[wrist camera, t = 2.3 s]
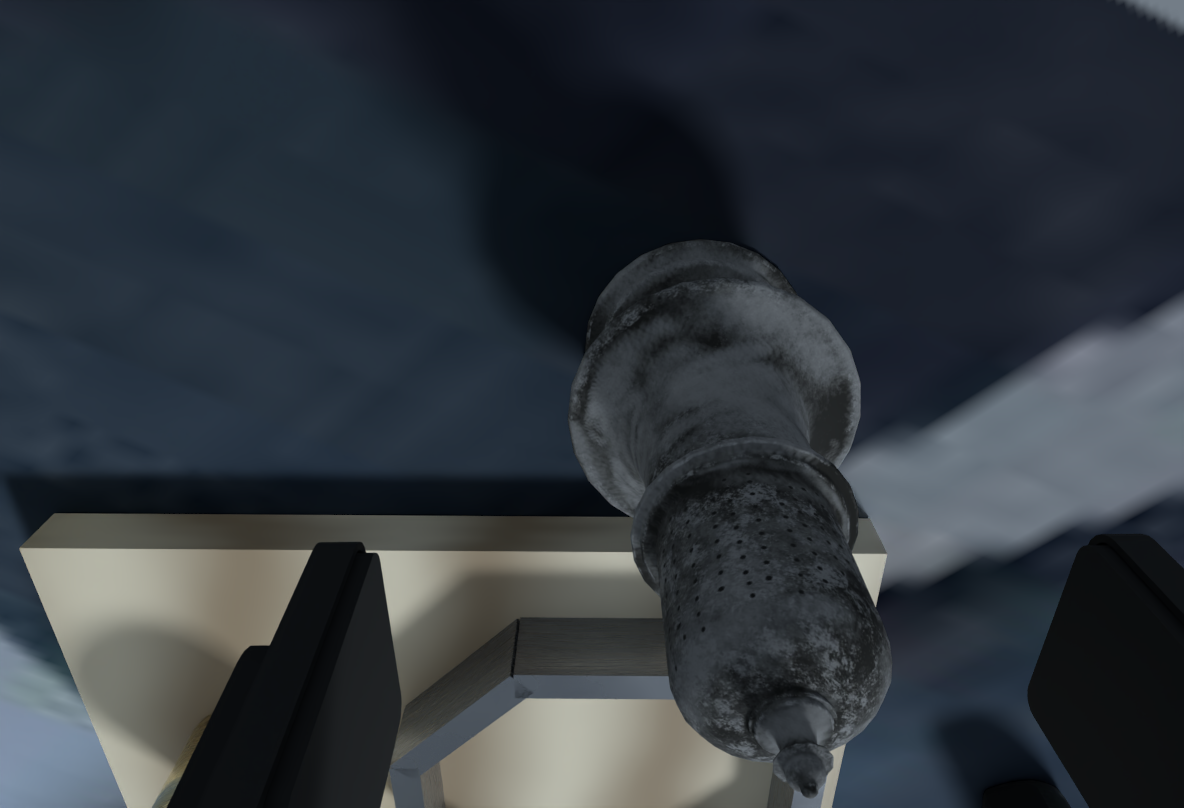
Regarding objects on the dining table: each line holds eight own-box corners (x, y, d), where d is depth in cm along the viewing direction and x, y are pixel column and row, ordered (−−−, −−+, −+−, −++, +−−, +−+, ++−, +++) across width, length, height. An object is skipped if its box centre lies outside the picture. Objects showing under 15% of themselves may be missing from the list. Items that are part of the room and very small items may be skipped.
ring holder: (827, 619, 21) (848, 677, 20) (778, 882, 27) (791, 947, 25) (391, 616, 21) (372, 674, 20) (430, 879, 27) (419, 943, 25)
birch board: (869, 518, 22) (887, 553, 20) (797, 878, 29) (806, 921, 28) (54, 513, 22) (19, 548, 20) (191, 873, 29) (172, 915, 28)
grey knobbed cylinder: (525, 306, 19) (432, 730, 8) (752, 176, 17) (991, 487, 7) (647, 486, 21) (696, 995, 11) (857, 384, 20) (1154, 856, 9)
